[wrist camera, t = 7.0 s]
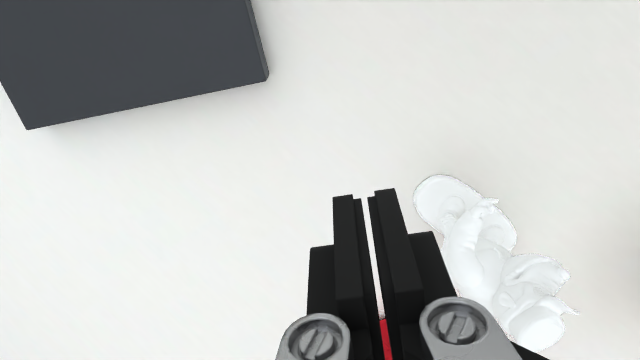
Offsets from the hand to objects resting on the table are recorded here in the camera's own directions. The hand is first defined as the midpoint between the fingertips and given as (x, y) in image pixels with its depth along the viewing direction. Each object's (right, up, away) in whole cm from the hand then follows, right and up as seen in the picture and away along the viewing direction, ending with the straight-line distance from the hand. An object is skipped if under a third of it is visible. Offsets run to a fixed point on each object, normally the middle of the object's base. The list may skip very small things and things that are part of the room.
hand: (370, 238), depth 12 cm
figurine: (+10, -1, +21) cm, 23 cm away
